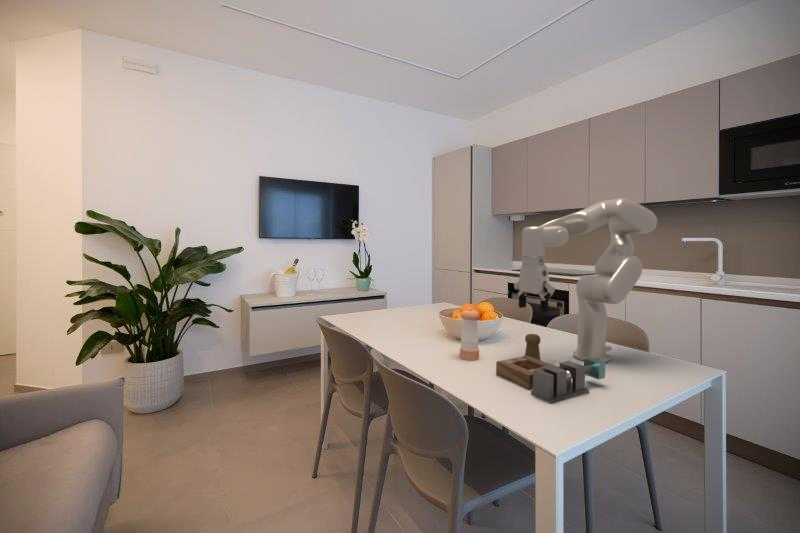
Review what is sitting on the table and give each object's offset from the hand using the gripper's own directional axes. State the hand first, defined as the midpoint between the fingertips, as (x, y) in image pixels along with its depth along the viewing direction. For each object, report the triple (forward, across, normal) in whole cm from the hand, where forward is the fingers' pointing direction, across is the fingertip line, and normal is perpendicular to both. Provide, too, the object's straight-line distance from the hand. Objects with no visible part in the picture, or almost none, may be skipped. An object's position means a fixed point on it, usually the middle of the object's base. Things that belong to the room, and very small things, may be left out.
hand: (533, 309), depth 128 cm
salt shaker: (+20, +17, +15) cm, 30 cm away
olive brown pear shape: (+20, 0, 0) cm, 21 cm away
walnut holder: (+20, -9, +12) cm, 25 cm away
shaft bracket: (+20, -22, +13) cm, 32 cm away
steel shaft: (+18, -22, +4) cm, 28 cm away
